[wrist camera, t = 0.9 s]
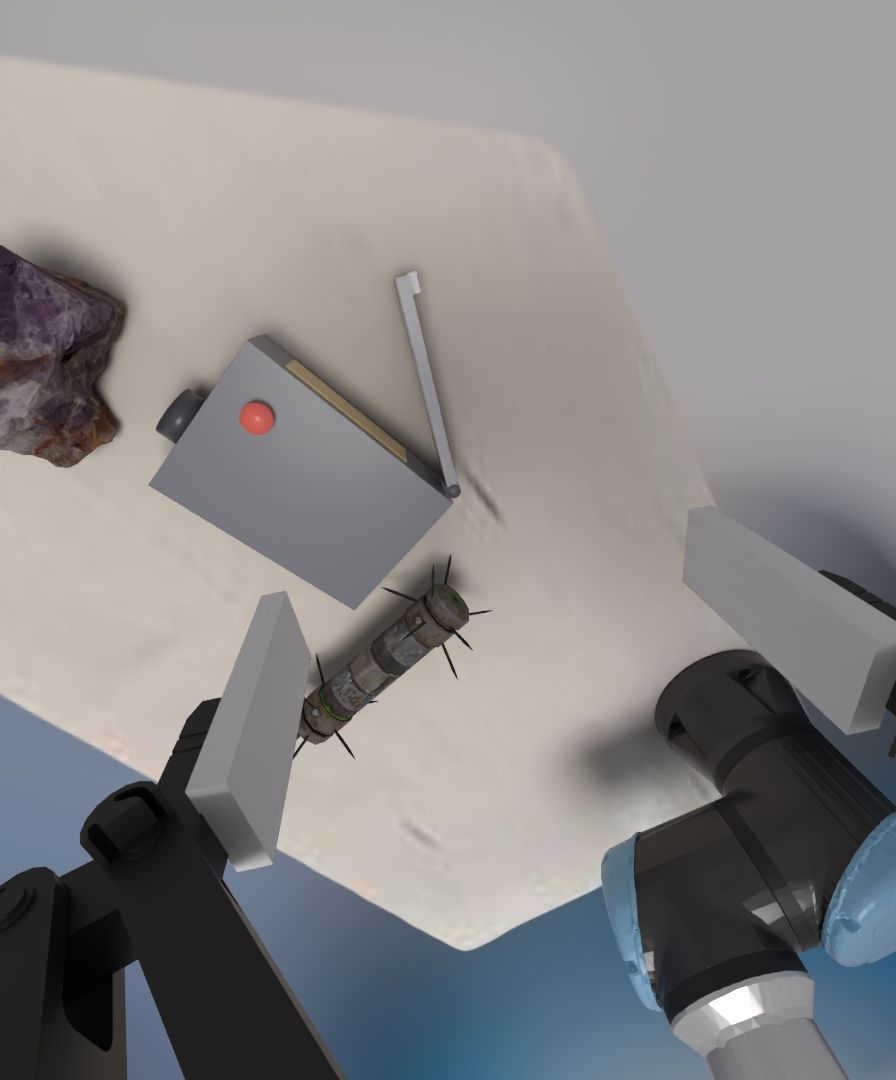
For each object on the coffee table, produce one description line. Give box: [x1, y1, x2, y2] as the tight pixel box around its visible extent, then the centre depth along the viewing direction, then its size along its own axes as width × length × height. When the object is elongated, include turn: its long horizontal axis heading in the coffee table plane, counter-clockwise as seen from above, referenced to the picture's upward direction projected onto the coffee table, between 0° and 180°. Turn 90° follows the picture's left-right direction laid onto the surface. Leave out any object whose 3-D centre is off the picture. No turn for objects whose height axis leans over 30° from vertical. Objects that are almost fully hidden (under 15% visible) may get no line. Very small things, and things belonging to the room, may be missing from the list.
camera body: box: [149, 334, 453, 610], centre depth 35 cm, size 19×12×6 cm, turn 48°
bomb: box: [293, 556, 493, 759], centre depth 43 cm, size 11×10×30 cm
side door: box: [393, 271, 461, 498], centre depth 34 cm, size 15×2×5 cm, turn 13°
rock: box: [0, 245, 124, 468], centre depth 29 cm, size 12×9×10 cm
